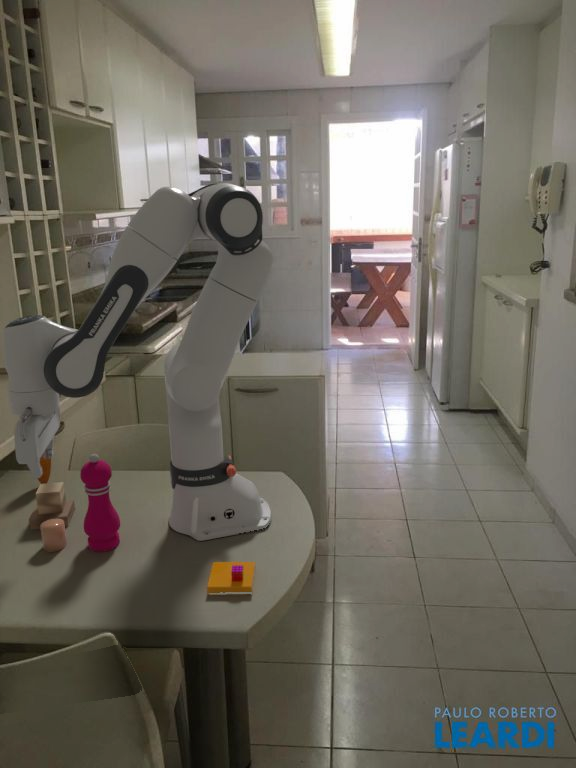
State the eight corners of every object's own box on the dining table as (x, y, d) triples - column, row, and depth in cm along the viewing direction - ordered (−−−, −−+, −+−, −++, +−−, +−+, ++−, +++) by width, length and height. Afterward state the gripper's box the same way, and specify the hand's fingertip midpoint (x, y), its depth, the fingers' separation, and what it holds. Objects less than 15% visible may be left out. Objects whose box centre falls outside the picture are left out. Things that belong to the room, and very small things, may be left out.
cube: (66, 502, 143) (63, 481, 142) (62, 512, 138) (59, 491, 137) (43, 504, 142) (40, 484, 141) (38, 514, 138) (35, 493, 136)
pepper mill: (96, 533, 134) (86, 446, 128) (128, 536, 133) (119, 448, 127) (79, 551, 127) (67, 460, 122) (112, 554, 126) (101, 462, 120)
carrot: (29, 487, 156) (21, 430, 152) (47, 479, 160) (39, 424, 156) (41, 492, 154) (33, 434, 149) (59, 484, 158) (51, 428, 153)
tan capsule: (69, 539, 132) (66, 517, 131) (64, 550, 128) (61, 528, 126) (46, 541, 132) (43, 519, 130) (41, 552, 127) (37, 530, 126)
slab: (75, 511, 145) (73, 499, 144) (68, 528, 137) (66, 516, 137) (39, 514, 144) (37, 502, 143) (30, 531, 136) (28, 519, 136)
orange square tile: (207, 597, 112) (206, 577, 111) (213, 572, 120) (212, 552, 119) (252, 597, 112) (251, 576, 111) (255, 571, 120) (254, 552, 119)
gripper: (38, 417, 111) (47, 488, 115) (62, 385, 131) (69, 446, 135) (1, 419, 110) (11, 490, 114) (31, 386, 130) (39, 448, 134)
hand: (43, 466), depth 125 cm, fingers open, 8 cm apart
